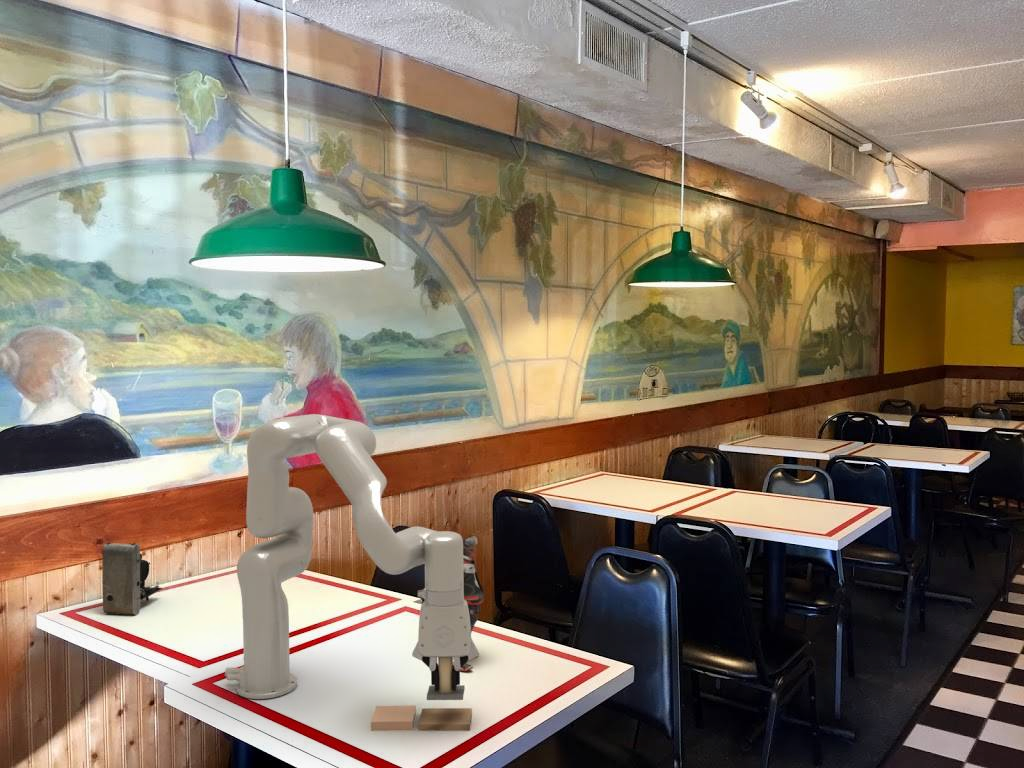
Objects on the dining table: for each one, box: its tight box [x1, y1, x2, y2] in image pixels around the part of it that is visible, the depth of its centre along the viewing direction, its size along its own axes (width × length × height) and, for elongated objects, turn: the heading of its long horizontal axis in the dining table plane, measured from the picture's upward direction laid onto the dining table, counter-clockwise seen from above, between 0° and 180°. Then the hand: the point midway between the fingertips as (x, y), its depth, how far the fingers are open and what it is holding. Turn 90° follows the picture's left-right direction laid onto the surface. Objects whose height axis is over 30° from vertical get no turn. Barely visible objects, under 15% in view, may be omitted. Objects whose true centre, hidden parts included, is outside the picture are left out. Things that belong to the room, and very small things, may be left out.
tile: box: [370, 704, 417, 732], centre depth 165 cm, size 2×7×8 cm
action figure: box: [453, 536, 486, 672], centre depth 194 cm, size 10×11×30 cm
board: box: [417, 707, 473, 731], centre depth 165 cm, size 10×7×1 cm
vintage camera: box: [101, 541, 163, 616], centre depth 236 cm, size 10×16×20 cm, turn 172°
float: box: [426, 657, 466, 701], centre depth 164 cm, size 7×5×8 cm
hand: (445, 687), depth 164 cm, fingers closed on float, 2 cm apart
